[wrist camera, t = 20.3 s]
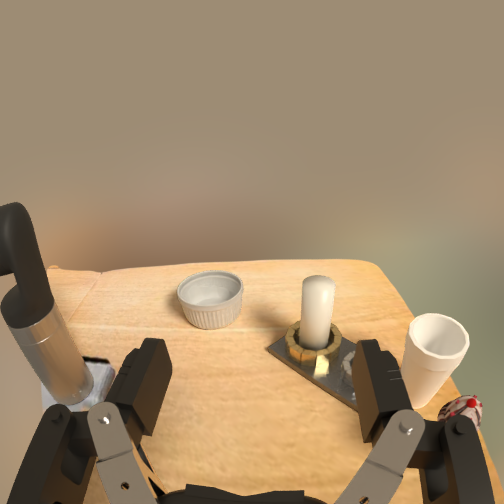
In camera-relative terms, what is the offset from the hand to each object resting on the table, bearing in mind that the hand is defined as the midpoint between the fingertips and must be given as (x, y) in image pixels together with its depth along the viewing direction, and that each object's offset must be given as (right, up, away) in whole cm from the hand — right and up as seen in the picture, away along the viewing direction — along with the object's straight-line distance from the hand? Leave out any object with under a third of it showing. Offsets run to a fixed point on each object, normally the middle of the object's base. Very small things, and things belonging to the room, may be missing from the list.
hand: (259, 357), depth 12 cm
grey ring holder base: (+13, -15, +36) cm, 41 cm away
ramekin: (-8, -9, +51) cm, 52 cm away
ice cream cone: (+23, -24, +16) cm, 37 cm away
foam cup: (+25, -18, +28) cm, 42 cm away
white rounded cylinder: (+10, -12, +39) cm, 42 cm away
